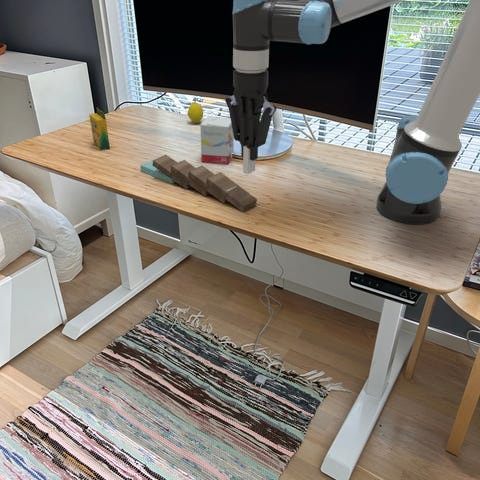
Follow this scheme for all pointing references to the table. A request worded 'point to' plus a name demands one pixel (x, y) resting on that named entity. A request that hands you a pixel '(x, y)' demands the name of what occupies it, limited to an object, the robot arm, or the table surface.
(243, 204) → the domino
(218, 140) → the ink box
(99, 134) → the crayon box
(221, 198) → the domino
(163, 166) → the domino
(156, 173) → the domino
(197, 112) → the fruit
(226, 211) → the table surface
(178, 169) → the domino
